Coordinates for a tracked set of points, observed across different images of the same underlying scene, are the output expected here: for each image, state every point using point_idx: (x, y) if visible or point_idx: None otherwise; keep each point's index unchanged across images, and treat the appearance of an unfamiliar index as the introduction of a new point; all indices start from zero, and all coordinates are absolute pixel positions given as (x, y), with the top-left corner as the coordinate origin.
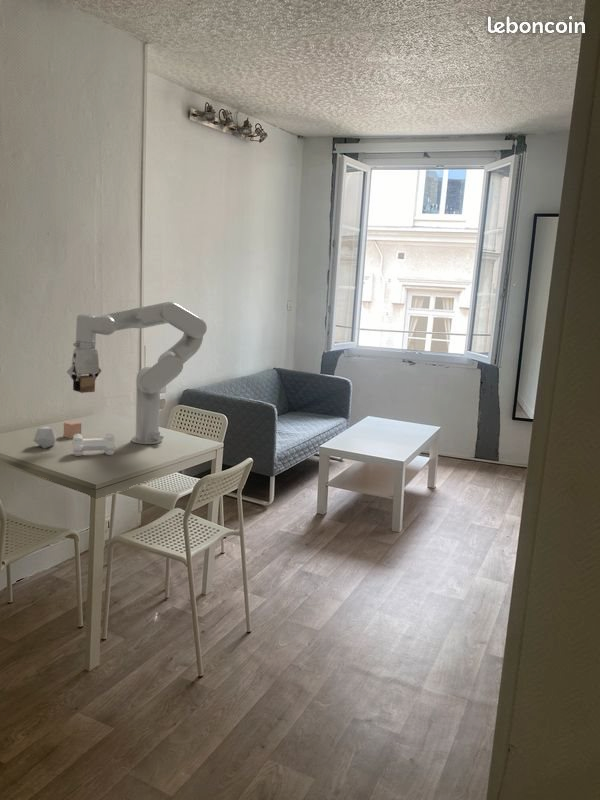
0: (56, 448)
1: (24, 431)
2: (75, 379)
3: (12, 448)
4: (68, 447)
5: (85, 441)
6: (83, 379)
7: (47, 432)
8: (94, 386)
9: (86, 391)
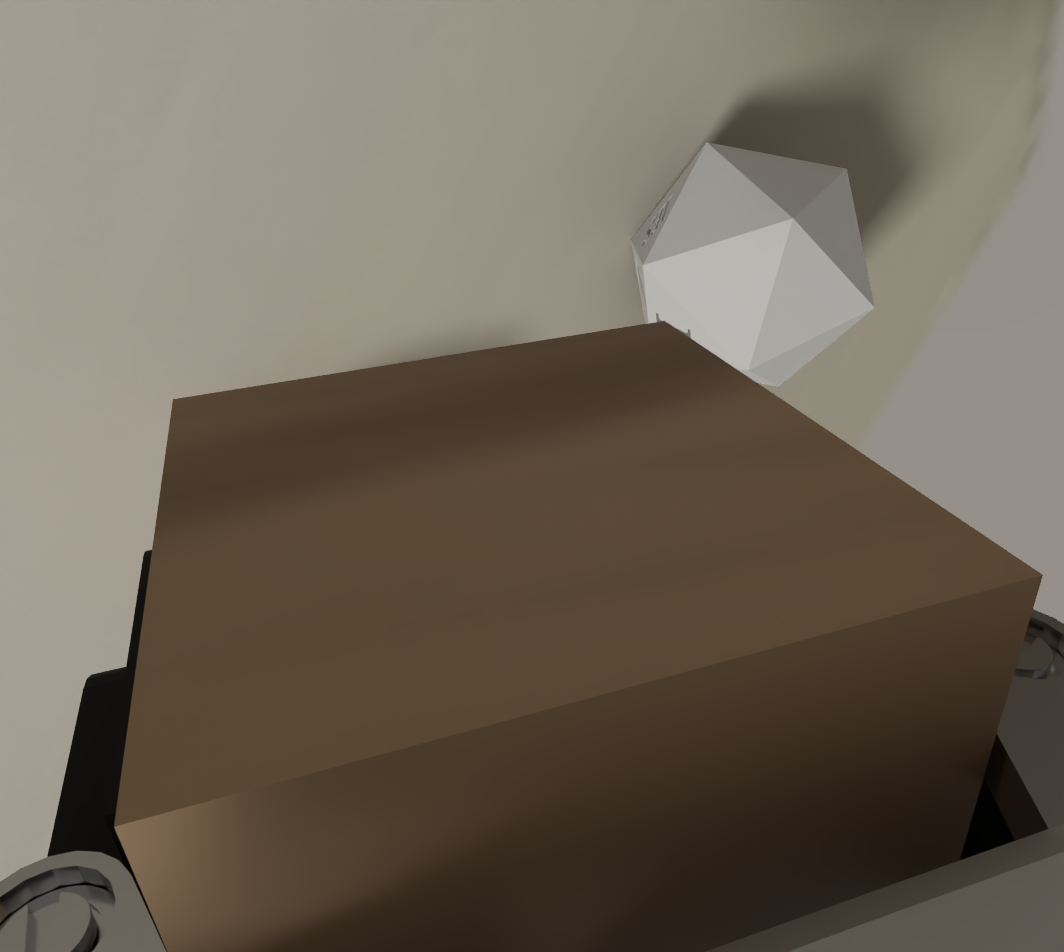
0: (661, 126)
1: None
2: (1058, 676)
3: (894, 327)
4: (552, 91)
5: None
6: (917, 549)
7: (821, 203)
8: (181, 488)
9: (517, 354)
